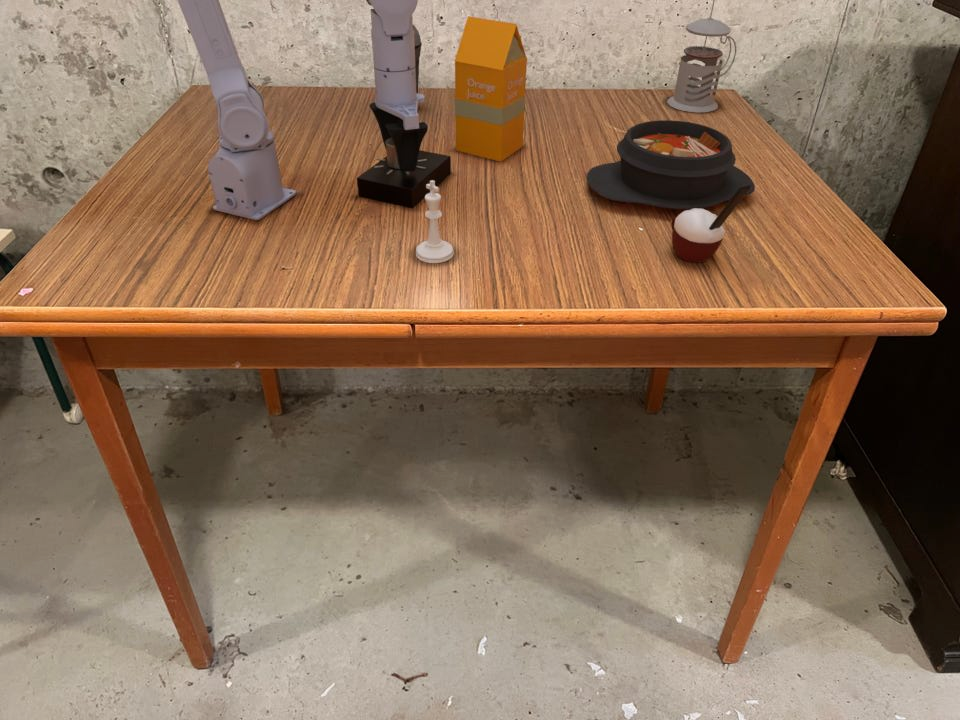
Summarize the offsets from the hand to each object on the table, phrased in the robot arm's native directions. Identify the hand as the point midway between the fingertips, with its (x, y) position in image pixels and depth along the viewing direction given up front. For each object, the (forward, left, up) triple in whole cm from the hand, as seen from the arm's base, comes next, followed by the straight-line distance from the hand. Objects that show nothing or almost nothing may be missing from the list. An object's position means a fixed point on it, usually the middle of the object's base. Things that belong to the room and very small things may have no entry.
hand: (400, 160), depth 103 cm
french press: (+56, -35, -4) cm, 66 cm away
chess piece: (-17, -14, -4) cm, 22 cm away
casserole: (+14, -38, -4) cm, 41 cm away
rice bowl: (-4, -45, -4) cm, 45 cm away
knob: (0, 0, -1) cm, 1 cm away
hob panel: (0, -1, -4) cm, 4 cm away
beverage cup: (+29, +15, -4) cm, 33 cm away
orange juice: (+18, -7, -4) cm, 20 cm away
